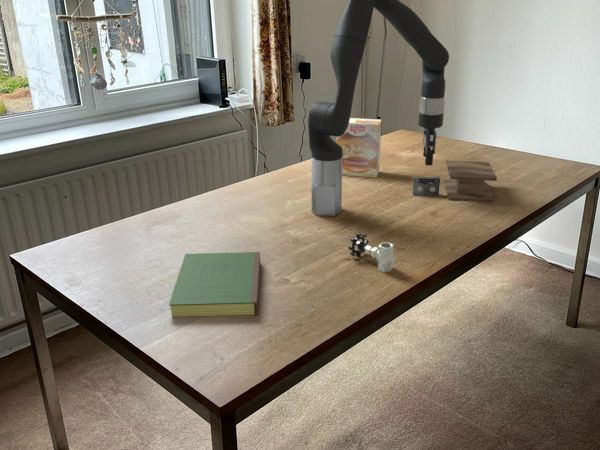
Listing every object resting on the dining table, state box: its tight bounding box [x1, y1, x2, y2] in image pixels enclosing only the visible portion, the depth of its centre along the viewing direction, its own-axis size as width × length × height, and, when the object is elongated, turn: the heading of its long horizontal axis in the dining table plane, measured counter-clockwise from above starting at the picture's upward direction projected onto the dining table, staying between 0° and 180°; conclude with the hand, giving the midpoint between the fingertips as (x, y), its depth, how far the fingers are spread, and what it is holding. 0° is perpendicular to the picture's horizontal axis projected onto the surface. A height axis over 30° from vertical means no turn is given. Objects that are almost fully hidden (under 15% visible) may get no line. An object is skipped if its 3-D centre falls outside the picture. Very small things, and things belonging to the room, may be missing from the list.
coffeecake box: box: [335, 117, 383, 178], centre depth 212 cm, size 15×7×20 cm, turn 76°
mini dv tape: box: [412, 176, 441, 197], centre depth 194 cm, size 8×2×6 cm, turn 84°
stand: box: [443, 160, 498, 203], centre depth 196 cm, size 16×14×8 cm
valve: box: [347, 232, 395, 273], centre depth 151 cm, size 7×7×12 cm
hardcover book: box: [168, 251, 261, 318], centre depth 141 cm, size 25×19×4 cm
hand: (427, 160), depth 192 cm, fingers open, 8 cm apart
